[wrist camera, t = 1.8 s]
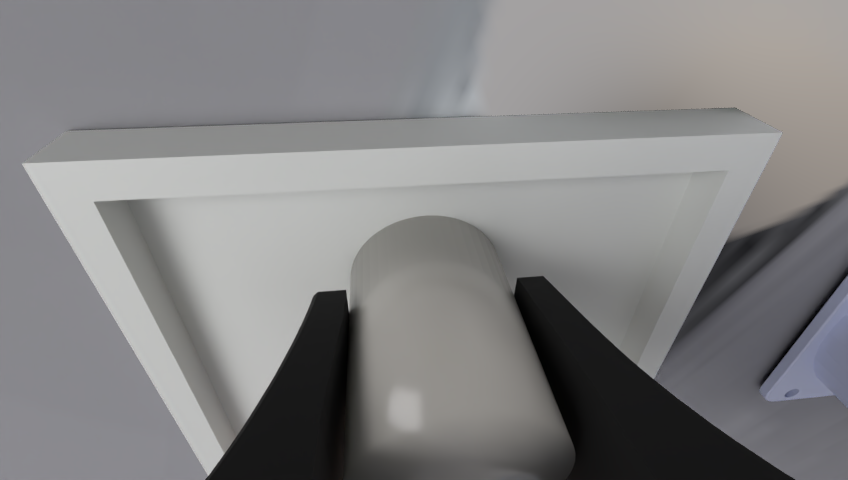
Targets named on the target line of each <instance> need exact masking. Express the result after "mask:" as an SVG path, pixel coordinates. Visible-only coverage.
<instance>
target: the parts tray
mask: <svg viewBox="0 0 848 480" xmlns="http://www.w3.org/2000/svg"><path fill="white" fill-rule="evenodd" d="M782 134H783V132H781V131H780V130H778V129H776V128H774V127H772V126H770V125H768V124H766V123H764V122H762V121H760V120H758V119H756V118H754V117H752V116H750V115H748V114H747V113H744V112H743V111H741V110H739V109H737V108H712V109H684V110H655V111H627V112H626V111H625V112H596V113H568V114H543V115H542V114H541V115H540V114H539V115H511V116H510V115H509V116H481V117H452V118H423V119H394V120H365V121H336V122H307V123H279V124H250V125H221V126H192V127H163V128H134V129H105V130H77V131H66V132H65V133H63V134H62V135H60V136H59V137H58V138H56V139H55V140H53V141H52V142H51V143H49V144H48V145H47V146H45V147H44V148H42V149H41V150H40V151H38V152H37V153H36V154H34V155H33V156H31V157H30V158H29V159H27V160H26V161H24V162H23V163H22V165H23V166H24V168H25V170H26V171H27V173H28V175H29V176H30V178H31V180H32V181H33V183H34V185H35V186H36V188H37V190H38V192H39V193H40V195H41V197H42V198H43V200H44V202H45V203H46V205H47V207H48V208H49V210H50V212H51V213H52V215H53V217H54V218H55V220H56V222H57V223H58V225H59V227H60V228H61V230H62V232H63V233H64V235H65V237H66V238H67V240H68V242H69V243H70V245H71V247H72V248H73V250H74V252H75V253H76V255H77V257H78V258H79V260H80V262H81V263H82V265H83V267H84V269H85V270H86V272H87V274H88V275H89V277H90V279H91V280H92V282H93V284H94V285H95V287H96V289H97V290H98V292H99V294H100V295H101V297H102V299H103V300H104V302H105V304H106V305H107V307H108V309H109V310H110V312H111V314H112V315H113V317H114V319H115V320H116V322H117V324H118V325H119V327H120V329H121V330H122V332H123V334H124V335H125V337H126V339H127V341H128V342H129V344H130V346H131V347H132V349H133V351H134V352H135V354H136V356H137V357H138V359H139V361H140V362H141V364H142V366H143V367H144V369H145V371H146V372H147V374H148V376H149V377H150V379H151V381H152V382H153V384H154V386H155V387H156V389H157V391H158V392H159V394H160V396H161V397H162V399H163V401H164V402H165V404H166V406H167V407H168V409H169V411H170V413H171V414H172V416H173V418H174V419H175V421H176V423H177V424H178V426H179V428H180V429H181V431H182V433H183V434H184V436H185V438H186V439H187V441H188V443H189V444H190V446H191V448H192V449H193V451H194V453H195V454H196V456H197V458H198V459H199V461H200V463H201V464H202V466H203V468H204V469H205V471H206V473H207V474H208V476H209V474H210V473H211V472H212V470H213V469H214V468H215V466H216V465H217V463H218V462H219V461H220V459H221V458H222V456H223V455H224V454H225V452H226V451H227V449H228V448H229V447H230V445H231V444H232V442H233V441H234V439H235V438H236V436H237V435H238V433H239V432H240V430H241V429H242V428H243V426H244V425H245V423H246V421H247V420H248V418H249V417H250V415H251V414H252V412H253V410H254V409H255V407H256V406H257V404H258V402H259V401H260V399H261V397H262V396H263V394H264V393H265V391H266V389H267V388H268V386H269V384H270V383H271V381H272V379H273V378H274V376H275V374H276V372H277V370H278V369H279V367H280V365H281V363H282V361H283V359H284V358H285V356H286V354H287V352H288V350H289V348H290V347H291V345H292V343H293V341H294V339H295V337H296V335H297V333H298V331H299V328H300V326H301V324H302V322H303V320H304V318H305V315H306V313H307V311H308V308H309V306H310V304H311V301H312V298H313V296H314V295H315V294H316V293H317V292H322V291H336V290H346V293H347V301H348V308H349V298H350V274H351V268H352V264H353V261H354V259H355V257H356V255H357V253H358V252H359V250H360V249H361V247H362V246H363V245H364V244H365V243H366V242H367V241H368V239H369V238H371V237H372V236H373V235H374V234H376V233H377V232H378V231H380V230H382V229H383V228H385V227H387V226H389V225H391V224H393V223H395V222H398V221H401V220H404V219H408V218H412V217H418V216H446V217H451V218H456V219H459V220H462V221H464V222H467V223H469V224H471V225H473V226H475V227H476V228H478V229H479V230H480V231H482V232H483V233H484V234H485V235H486V236H487V237H488V238H489V240H490V241H491V242H492V244H493V245H494V247H495V249H496V252H497V254H498V257H499V259H500V262H501V264H502V267H503V269H504V272H505V274H506V277H507V279H508V282H509V284H510V287H511V289H512V292H513V294H514V293H515V287H516V281H517V278H521V277H535V276H544V277H545V278H546V279H547V280H548V281H549V282H550V283H551V284H552V285H553V286H554V287H555V288H556V289H557V290H558V291H559V292H560V293H561V294H562V295H563V296H564V297H565V298H566V299H567V300H568V301H569V302H570V303H571V304H572V305H573V306H574V307H575V308H576V309H577V310H578V311H579V312H580V313H581V314H582V315H583V316H584V317H585V318H586V319H587V320H588V321H589V322H590V323H591V324H592V325H593V326H594V327H596V328H597V329H598V330H599V331H600V332H601V333H602V334H603V335H604V336H605V337H606V338H607V339H608V340H609V341H611V342H612V343H613V344H614V345H615V346H616V347H617V348H618V349H619V350H620V351H621V352H622V353H624V354H625V355H626V356H627V357H628V358H629V359H630V360H631V361H633V362H634V363H635V364H636V365H637V366H638V367H640V368H641V369H642V370H643V371H644V372H646V373H647V374H648V375H649V376H650V377H652V378H653V379H654V378H655V376H656V374H657V372H658V370H659V369H660V367H661V365H662V363H663V361H664V359H665V357H666V355H667V353H668V351H669V349H670V348H671V346H672V344H673V342H674V340H675V338H676V336H677V334H678V332H679V330H680V328H681V327H682V325H683V323H684V321H685V319H686V317H687V315H688V313H689V311H690V309H691V307H692V306H693V304H694V302H695V300H696V298H697V296H698V294H699V292H700V290H701V288H702V286H703V285H704V283H705V281H706V279H707V277H708V275H709V273H710V271H711V269H712V267H713V265H714V264H715V262H716V260H717V258H718V256H719V254H720V252H721V250H722V248H723V246H724V244H725V243H726V241H727V239H728V237H729V235H730V233H731V231H732V229H733V227H734V225H735V223H736V222H737V220H738V218H739V216H740V214H741V212H742V210H743V208H744V206H745V204H746V202H747V201H748V198H749V197H750V195H751V193H752V191H753V189H754V187H755V185H756V183H757V181H758V180H759V178H760V176H761V174H762V172H763V170H764V168H765V166H766V164H767V162H768V160H769V159H770V156H771V155H772V153H773V151H774V149H775V147H776V145H777V143H778V141H779V139H780V138H781V136H782Z"/></svg>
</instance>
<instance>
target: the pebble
mask: <svg viewBox="0 0 848 480" xmlns="http://www.w3.org/2000/svg"><path fill="white" fill-rule="evenodd" d="M575 454H576V453H575V449H574V445H573V443H572V440H571V438H570V435H569V433H568V430H567V428H566V425H565V423H564V420H563V418H562V415H561V413H560V410H559V408H558V405H557V403H556V400H555V397H554V395H553V392H552V390H551V387H550V385H549V382H548V380H547V377H546V375H545V372H544V370H543V367H542V365H541V362H540V360H539V357H538V355H537V352H536V350H535V347H534V345H533V342H532V340H531V337H530V335H529V332H528V330H527V327H526V324H525V322H524V319H523V317H522V314H521V312H520V309H519V307H518V304H517V302H516V299H515V297H514V294H513V292H512V289H511V287H510V284H509V282H508V279H507V277H506V274H505V272H504V269H503V267H502V264H501V262H500V259H499V257H498V254H497V252H496V249H495V247H494V245H493V244H492V242H491V241H490V240H489V238H488V237H487V236H486V235H485V234H484V233H483V232H482V231H480V230H479V229H478V228H476V227H475V226H473V225H471V224H469V223H467V222H464V221H462V220H459V219H456V218H451V217H446V216H418V217H412V218H408V219H404V220H401V221H398V222H395V223H393V224H391V225H389V226H387V227H385V228H383V229H382V230H380V231H378V232H377V233H376V234H374V235H373V236H372V237H371V238H369V239H368V241H367V242H366V243H365V244H364V245H363V246H362V247H361V249H360V250H359V252H358V253H357V255H356V257H355V259H354V261H353V264H352V268H351V274H350V298H349V331H348V354H347V381H346V409H345V436H344V464H343V480H566V478H567V477H568V476H569V474H570V472H571V471H572V469H573V466H574V463H575Z"/></svg>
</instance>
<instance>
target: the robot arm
mask: <svg viewBox="0 0 848 480" xmlns="http://www.w3.org/2000/svg"><path fill="white" fill-rule="evenodd" d="M514 297H515V299H516V302H517V304H518V307H519V309H520V312H521V314H522V317H523V319H524V322H525V324H526V327H527V330H528V332H529V335H530V337H531V340H532V342H533V345H534V347H535V350H536V352H537V355H538V357H539V360H540V362H541V365H542V367H543V370H544V372H545V375H546V377H547V380H548V382H549V385H550V387H551V390H552V392H553V395H554V397H555V400H556V403H557V405H558V408H559V410H560V413H561V415H562V418H563V420H564V423H565V425H566V428H567V430H568V433H569V435H570V438H571V440H572V443H573V445H574V449H575V453H576V454H575V463H574V466H573V469H572V471H571V472H570V474H569V476H568V477H567V478H566V480H795V479H793V478H792V477H790V476H788V475H787V474H785V473H784V472H782V471H780V470H779V469H777V468H776V467H774V466H773V465H771V464H770V463H768V462H767V461H765V460H764V459H762V458H761V457H759V456H758V455H756V454H755V453H753V452H752V451H750V450H749V449H747V448H746V447H744V446H743V445H741V444H740V443H738V442H737V441H735V440H734V439H732V438H731V437H729V436H728V435H727V434H725V433H724V432H722V431H721V430H719V429H718V428H717V427H715V426H714V425H712V424H711V423H710V422H708V421H707V420H706V419H704V418H703V417H702V416H700V415H699V414H698V413H696V412H695V411H694V410H692V409H691V408H690V407H688V406H687V405H685V404H684V403H683V402H681V401H680V400H679V399H677V398H676V397H675V396H674V395H672V394H671V393H670V392H669V391H667V390H666V389H665V388H664V387H662V386H661V385H660V384H659V383H657V382H656V381H655V380H654V379H653V378H652V377H650V376H649V375H648V374H647V373H646V372H644V371H643V370H642V369H641V368H640V367H638V366H637V365H636V364H635V363H634V362H633V361H631V360H630V359H629V358H628V357H627V356H626V355H625V354H624V353H622V352H621V351H620V350H619V349H618V348H617V347H616V346H615V345H614V344H613V343H612V342H611V341H609V340H608V339H607V338H606V337H605V336H604V335H603V334H602V333H601V332H600V331H599V330H598V329H597V328H596V327H594V326H593V325H592V324H591V323H590V322H589V321H588V320H587V319H586V318H585V317H584V316H583V315H582V314H581V313H580V312H579V311H578V310H577V309H576V308H575V307H574V306H573V305H572V304H571V303H570V302H569V301H568V300H567V299H566V298H565V297H564V296H563V295H562V294H561V293H560V292H559V291H558V290H557V289H556V288H555V287H554V286H553V285H552V284H551V283H550V282H549V281H548V280H547V279H546V278H545V277H544V276H535V277H521V278H517V281H516V287H515V293H514ZM348 331H349V308H348V301H347V293H346V290H336V291H322V292H317V293H316V294H315V295H314V296H313V298H312V301H311V304H310V306H309V308H308V311H307V313H306V315H305V318H304V320H303V322H302V324H301V326H300V328H299V331H298V333H297V335H296V337H295V339H294V341H293V343H292V345H291V347H290V348H289V350H288V352H287V354H286V356H285V358H284V359H283V361H282V363H281V365H280V367H279V369H278V370H277V372H276V374H275V376H274V378H273V379H272V381H271V383H270V384H269V386H268V388H267V389H266V391H265V393H264V394H263V396H262V397H261V399H260V401H259V402H258V404H257V406H256V407H255V409H254V410H253V412H252V414H251V415H250V417H249V418H248V420H247V421H246V423H245V425H244V426H243V428H242V429H241V430H240V432H239V433H238V435H237V436H236V438H235V439H234V441H233V442H232V444H231V445H230V447H229V448H228V449H227V451H226V452H225V454H224V455H223V456H222V458H221V459H220V461H219V462H218V463H217V465H216V466H215V468H214V469H213V470H212V472H211V473H210V474H209V476H208V477H207V478H206V480H343V464H344V436H345V409H346V381H347V354H348ZM759 391H760V393H761V395H762V396H763V397H764V398H765V399H766V400H767V401H783V400H793V399H803V398H812V397H822V396H832V395H835V396H836V397H837V398H838V399H839V400H840V401H841V402H842V403H843V404H844V405H845V406H846V407H847V408H848V275H847V276H846V278H845V279H844V280H843V281H842V283H841V284H840V285H839V287H838V288H837V289H836V290H835V292H834V293H833V294H832V296H831V297H830V298H829V299H828V301H827V302H826V303H825V305H824V306H823V307H822V308H821V310H820V311H819V312H818V314H817V315H816V316H815V318H814V319H813V320H812V321H811V323H810V324H809V325H808V327H807V328H806V329H805V330H804V332H803V333H802V334H801V336H800V337H799V338H798V339H797V341H796V342H795V343H794V345H793V346H792V347H791V348H790V350H789V351H788V352H787V354H786V355H785V356H784V358H783V359H782V360H781V361H780V363H779V364H778V365H777V367H776V368H775V369H774V370H773V372H772V373H771V374H770V376H769V377H768V378H767V379H766V381H765V382H764V383H763V385H762V386H761V388H760V390H759Z"/></svg>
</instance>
